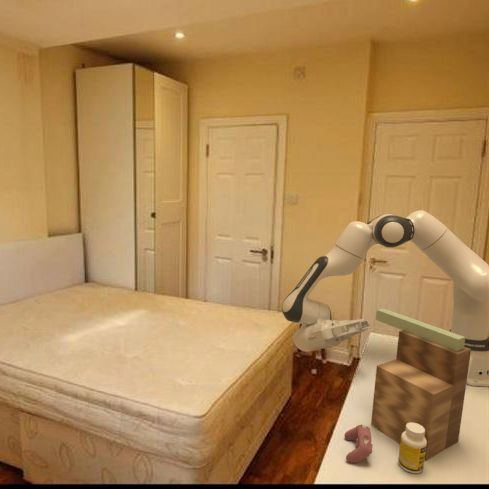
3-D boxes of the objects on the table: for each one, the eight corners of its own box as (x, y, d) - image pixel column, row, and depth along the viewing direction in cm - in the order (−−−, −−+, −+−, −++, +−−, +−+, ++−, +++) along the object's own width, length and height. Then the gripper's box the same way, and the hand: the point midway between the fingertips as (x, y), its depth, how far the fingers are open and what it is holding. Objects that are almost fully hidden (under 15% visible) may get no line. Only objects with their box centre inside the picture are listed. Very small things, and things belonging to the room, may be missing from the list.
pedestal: (371, 424, 107) (379, 336, 103) (403, 409, 115) (412, 327, 111) (425, 460, 94) (437, 361, 90) (458, 441, 102) (471, 349, 97)
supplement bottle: (421, 478, 89) (426, 438, 87) (395, 468, 91) (400, 429, 90) (425, 463, 93) (429, 425, 91) (400, 454, 96) (404, 417, 94)
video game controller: (361, 472, 92) (378, 450, 90) (344, 461, 92) (360, 439, 91) (358, 444, 101) (373, 424, 100) (342, 434, 102) (357, 414, 100)
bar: (375, 319, 116) (376, 309, 115) (382, 318, 117) (383, 308, 117) (456, 351, 96) (458, 339, 95) (463, 348, 97) (465, 337, 97)
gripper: (302, 330, 130) (330, 321, 119) (346, 319, 141) (375, 310, 130) (307, 349, 128) (336, 342, 117) (352, 337, 139) (382, 330, 128)
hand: (357, 325), depth 124 cm, fingers open, 8 cm apart
